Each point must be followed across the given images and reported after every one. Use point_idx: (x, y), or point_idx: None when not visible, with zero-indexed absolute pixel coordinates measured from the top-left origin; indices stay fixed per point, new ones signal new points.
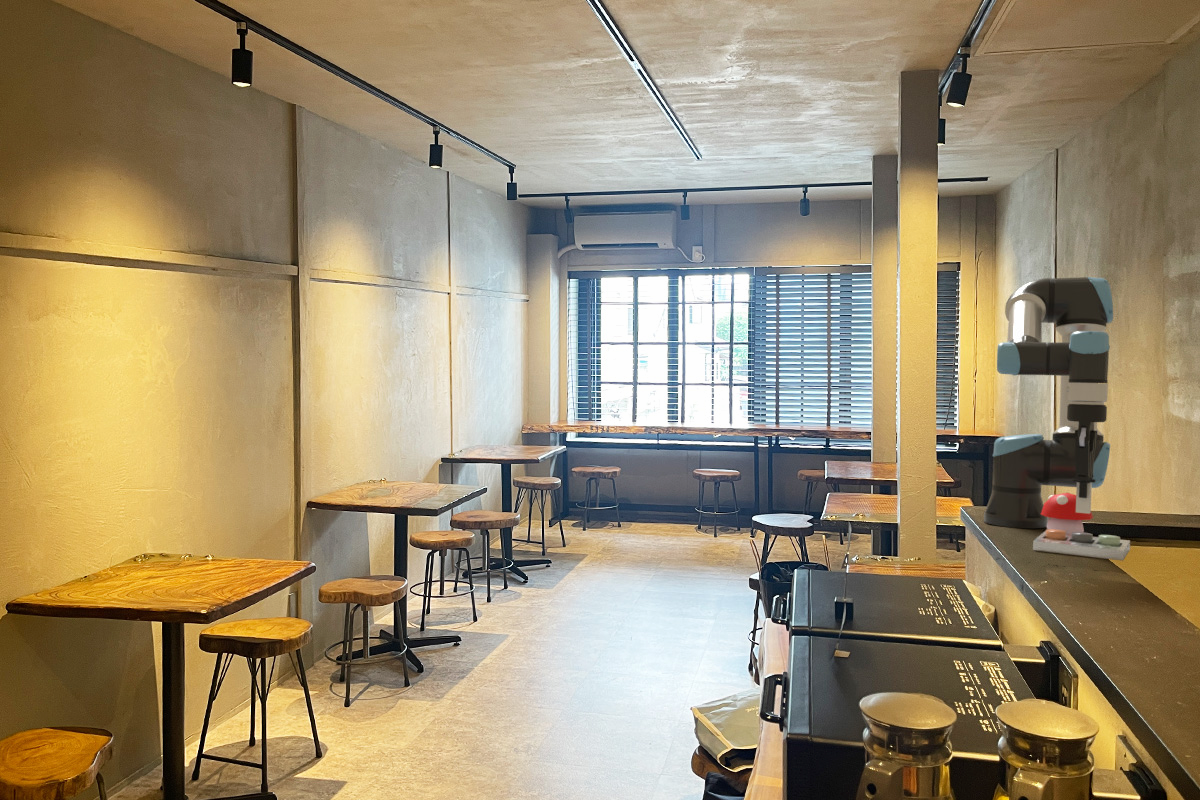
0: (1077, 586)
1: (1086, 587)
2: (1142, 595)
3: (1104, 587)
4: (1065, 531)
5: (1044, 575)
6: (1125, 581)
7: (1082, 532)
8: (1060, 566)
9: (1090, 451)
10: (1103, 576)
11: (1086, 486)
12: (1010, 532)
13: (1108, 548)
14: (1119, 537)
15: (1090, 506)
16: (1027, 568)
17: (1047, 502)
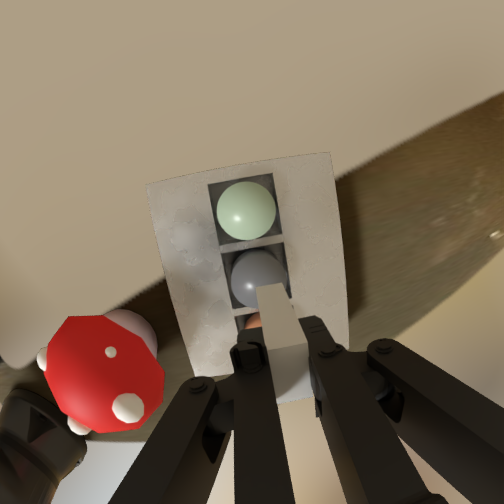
0: (495, 189)
1: (493, 178)
2: (484, 107)
3: (482, 156)
4: (257, 325)
5: (468, 249)
6: (432, 132)
7: (236, 289)
8: (394, 258)
9: (431, 495)
10: (423, 170)
11: (334, 341)
12: None
13: (326, 189)
14: (238, 184)
15: (269, 294)
16: (439, 290)
17: (135, 428)
